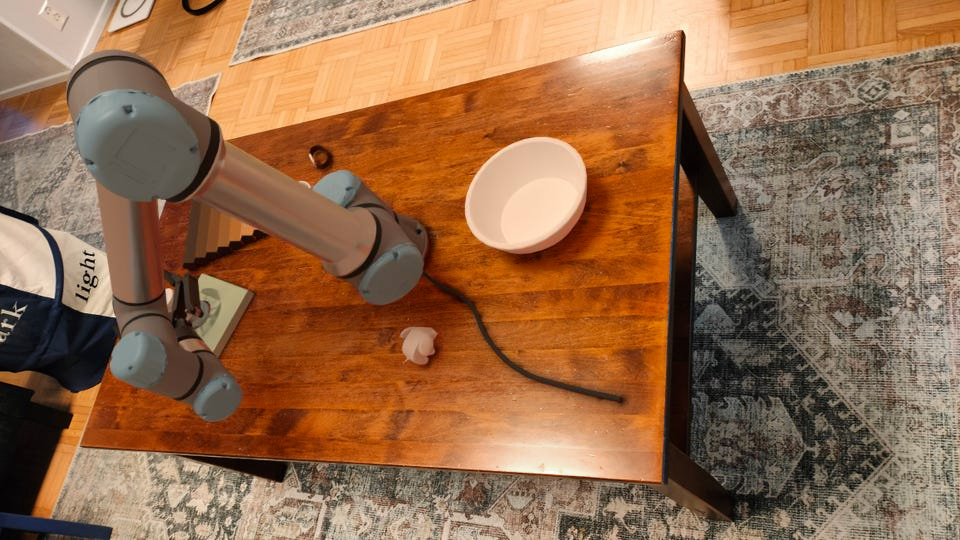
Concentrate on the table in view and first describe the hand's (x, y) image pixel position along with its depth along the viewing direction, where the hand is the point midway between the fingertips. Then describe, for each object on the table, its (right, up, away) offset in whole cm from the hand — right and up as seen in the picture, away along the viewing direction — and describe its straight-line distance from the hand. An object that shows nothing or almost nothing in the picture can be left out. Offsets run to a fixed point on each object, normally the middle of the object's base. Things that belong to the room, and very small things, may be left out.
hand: (142, 300), depth 126 cm
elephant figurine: (+55, -9, -10) cm, 57 cm away
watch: (+28, +32, +29) cm, 51 cm away
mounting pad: (+4, -5, +21) cm, 22 cm away
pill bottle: (+3, -5, +22) cm, 23 cm away
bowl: (+76, +16, -8) cm, 78 cm away
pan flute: (+4, +20, +36) cm, 41 cm away
